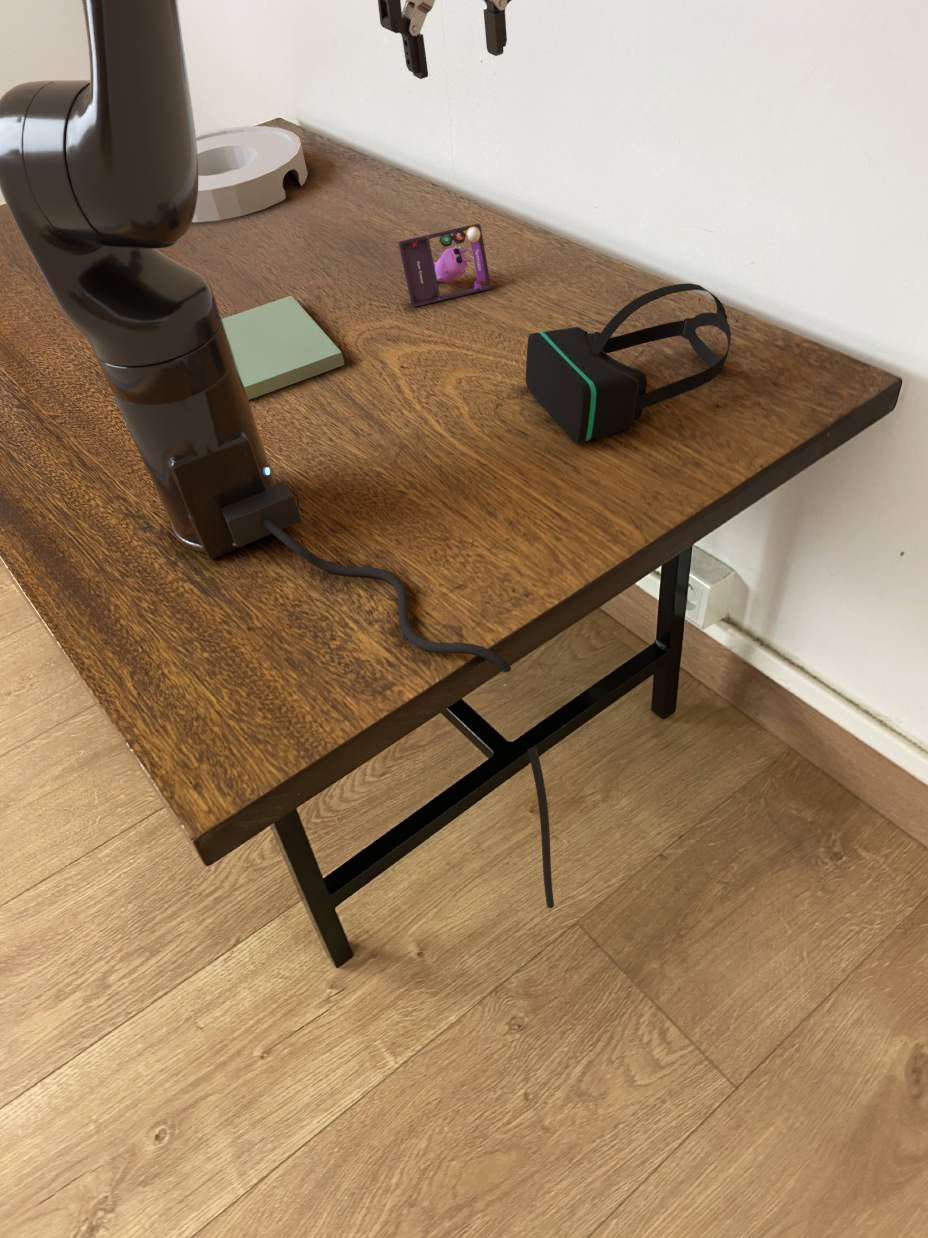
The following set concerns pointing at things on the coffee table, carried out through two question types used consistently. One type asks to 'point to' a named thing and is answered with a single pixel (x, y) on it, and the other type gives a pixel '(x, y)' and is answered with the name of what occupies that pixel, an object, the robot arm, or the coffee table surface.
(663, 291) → the virtual reality headset
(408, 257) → the game card
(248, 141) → the white notched ring
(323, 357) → the notebook
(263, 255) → the coffee table surface
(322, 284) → the coffee table surface
